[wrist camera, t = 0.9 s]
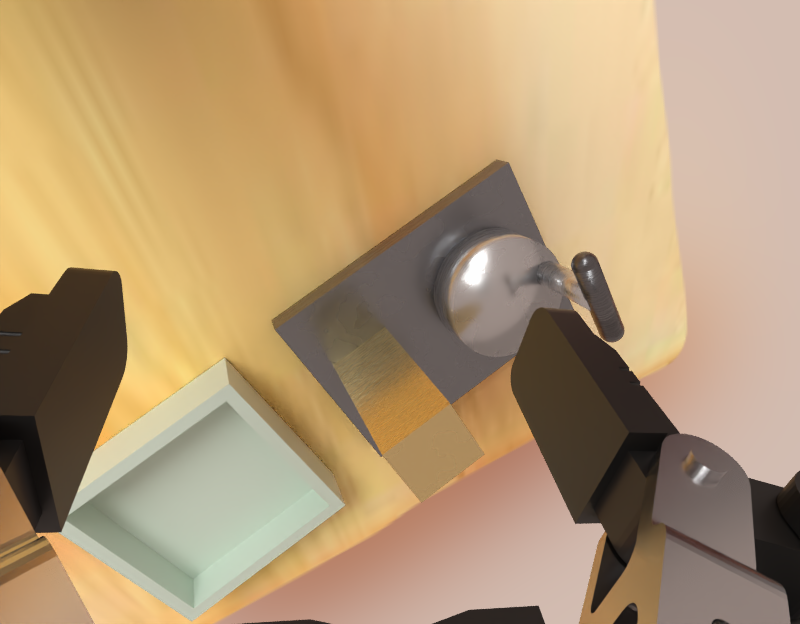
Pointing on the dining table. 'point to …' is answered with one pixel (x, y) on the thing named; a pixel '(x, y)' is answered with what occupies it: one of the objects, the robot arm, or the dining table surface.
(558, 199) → the dining table surface
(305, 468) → the tray
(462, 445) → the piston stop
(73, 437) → the robot arm
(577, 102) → the dining table surface
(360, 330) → the crank base
